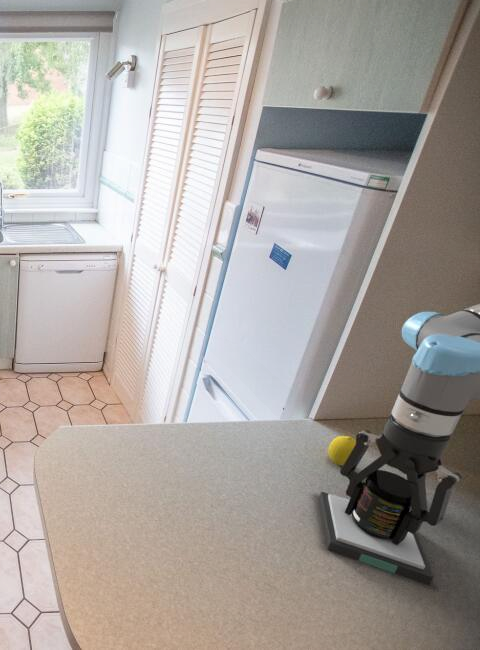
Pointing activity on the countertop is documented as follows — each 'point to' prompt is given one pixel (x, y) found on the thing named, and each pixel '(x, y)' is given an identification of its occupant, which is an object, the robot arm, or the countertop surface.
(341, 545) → the kitchen scale
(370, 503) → the supplement container
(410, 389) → the robot arm
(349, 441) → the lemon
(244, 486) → the countertop surface
